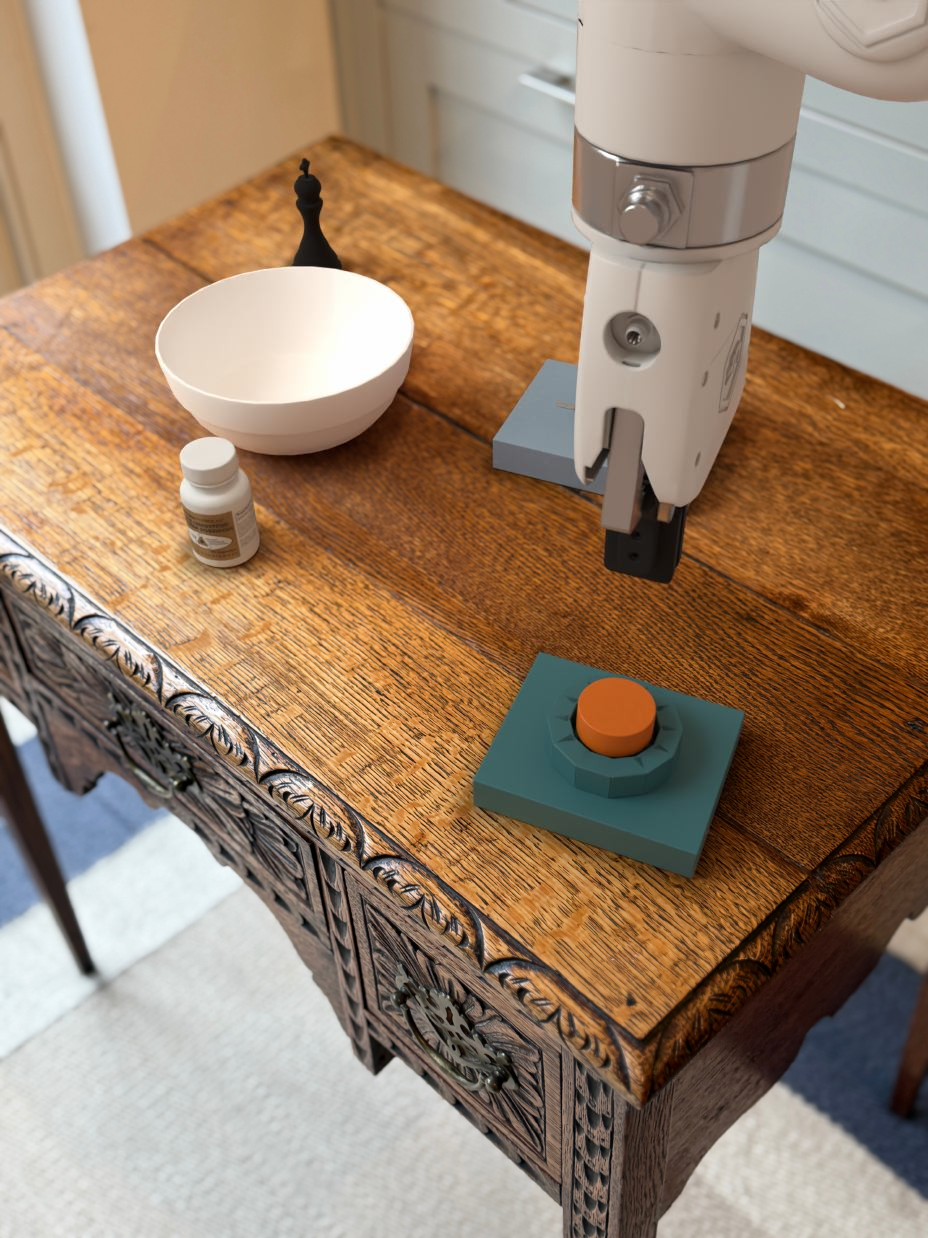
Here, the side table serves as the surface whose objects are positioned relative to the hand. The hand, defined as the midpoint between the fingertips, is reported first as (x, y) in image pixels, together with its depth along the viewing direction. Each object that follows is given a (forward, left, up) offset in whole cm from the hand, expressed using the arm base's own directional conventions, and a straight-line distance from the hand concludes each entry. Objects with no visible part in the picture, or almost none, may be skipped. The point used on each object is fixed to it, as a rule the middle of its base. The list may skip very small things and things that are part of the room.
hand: (641, 565), depth 54 cm
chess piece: (+41, -43, -15) cm, 61 cm away
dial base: (+9, -28, -15) cm, 33 cm away
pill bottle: (+29, -8, -15) cm, 34 cm away
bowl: (+32, -23, -15) cm, 42 cm away
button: (0, 0, -11) cm, 11 cm away
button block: (0, 0, -15) cm, 15 cm away
